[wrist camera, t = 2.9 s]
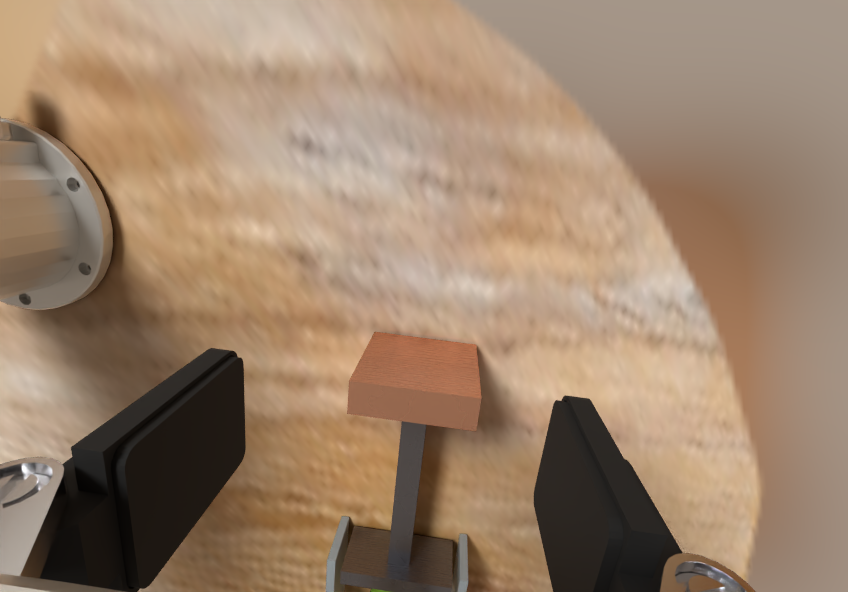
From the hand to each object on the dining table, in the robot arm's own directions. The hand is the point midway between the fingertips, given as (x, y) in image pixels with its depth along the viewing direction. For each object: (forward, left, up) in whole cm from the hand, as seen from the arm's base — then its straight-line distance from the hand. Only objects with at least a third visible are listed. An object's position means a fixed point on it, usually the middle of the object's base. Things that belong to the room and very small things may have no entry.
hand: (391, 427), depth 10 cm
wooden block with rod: (+14, 0, -18) cm, 23 cm away
